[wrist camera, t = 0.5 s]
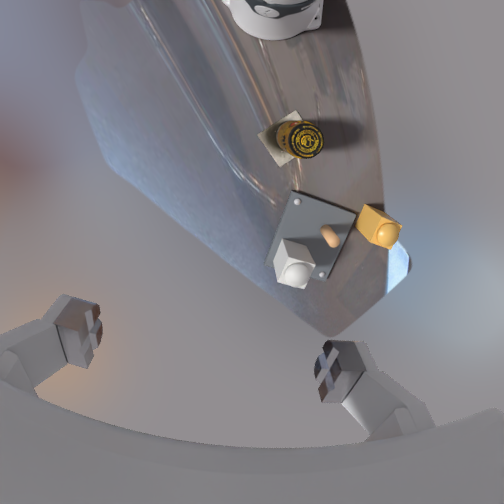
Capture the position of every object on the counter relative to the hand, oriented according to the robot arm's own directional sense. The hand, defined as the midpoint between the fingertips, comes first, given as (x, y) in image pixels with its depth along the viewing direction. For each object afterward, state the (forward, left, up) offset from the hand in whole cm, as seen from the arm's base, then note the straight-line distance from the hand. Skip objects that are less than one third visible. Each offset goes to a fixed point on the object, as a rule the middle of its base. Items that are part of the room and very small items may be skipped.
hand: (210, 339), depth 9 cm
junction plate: (+10, +19, -45) cm, 50 cm away
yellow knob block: (+2, +30, -45) cm, 54 cm away
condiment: (-7, +8, -45) cm, 46 cm away
